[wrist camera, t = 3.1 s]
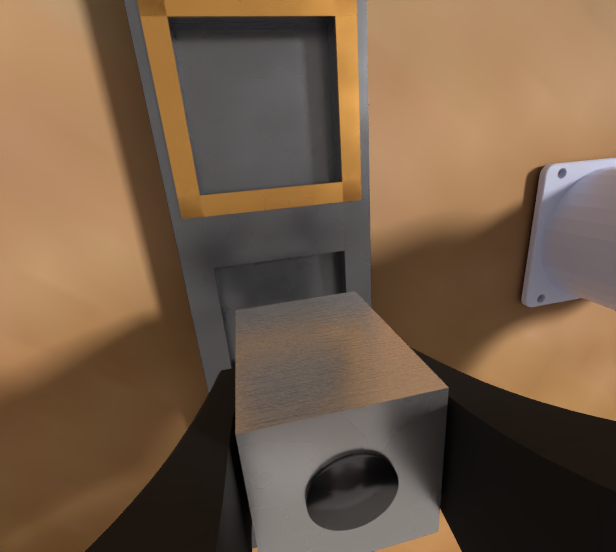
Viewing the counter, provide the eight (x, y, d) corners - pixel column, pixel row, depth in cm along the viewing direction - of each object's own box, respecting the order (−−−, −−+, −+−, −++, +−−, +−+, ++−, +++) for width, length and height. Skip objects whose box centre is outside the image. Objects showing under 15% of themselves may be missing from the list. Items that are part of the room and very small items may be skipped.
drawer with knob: (355, 291, 12) (451, 390, 6) (358, 389, 13) (440, 535, 8) (235, 309, 11) (235, 438, 6) (252, 411, 12) (265, 589, 7)
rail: (347, -48, 12) (366, -84, 11) (363, 487, 22) (375, 515, 20) (123, -56, 11) (101, -98, 9) (242, 519, 20) (242, 553, 19)
